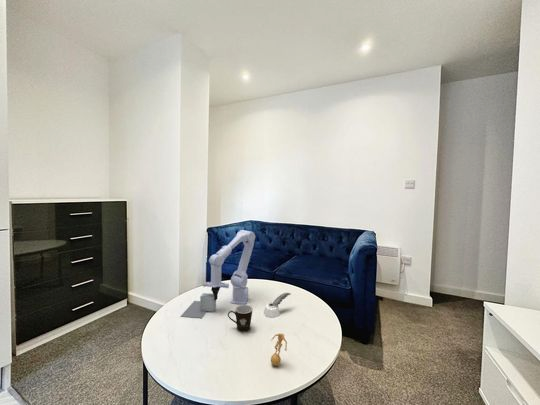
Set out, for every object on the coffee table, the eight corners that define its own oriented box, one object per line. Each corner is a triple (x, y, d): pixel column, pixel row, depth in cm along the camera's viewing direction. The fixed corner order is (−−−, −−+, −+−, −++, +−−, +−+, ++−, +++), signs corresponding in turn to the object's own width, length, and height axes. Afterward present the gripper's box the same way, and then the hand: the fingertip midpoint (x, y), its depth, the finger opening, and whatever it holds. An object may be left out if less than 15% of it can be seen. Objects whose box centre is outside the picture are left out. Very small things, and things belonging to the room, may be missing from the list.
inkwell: (260, 311, 135) (260, 294, 134) (285, 304, 145) (285, 288, 144) (269, 319, 127) (270, 301, 127) (295, 310, 137) (295, 293, 137)
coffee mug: (255, 326, 120) (255, 307, 120) (246, 335, 113) (247, 315, 112) (235, 320, 125) (236, 302, 125) (226, 328, 117) (226, 309, 117)
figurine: (264, 361, 96) (265, 332, 95) (275, 354, 100) (276, 326, 100) (279, 373, 90) (280, 342, 89) (290, 365, 94) (291, 336, 93)
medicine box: (216, 308, 137) (216, 293, 136) (213, 312, 132) (213, 297, 132) (203, 307, 138) (203, 292, 137) (200, 311, 133) (200, 296, 133)
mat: (213, 302, 144) (213, 302, 144) (201, 318, 126) (201, 317, 126) (194, 301, 145) (194, 300, 145) (180, 316, 127) (180, 316, 127)
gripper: (201, 277, 130) (200, 301, 131) (226, 279, 129) (226, 303, 129) (205, 273, 137) (205, 296, 138) (230, 274, 136) (229, 297, 137)
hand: (215, 299), depth 134 cm, fingers closed, pressing on medicine box
